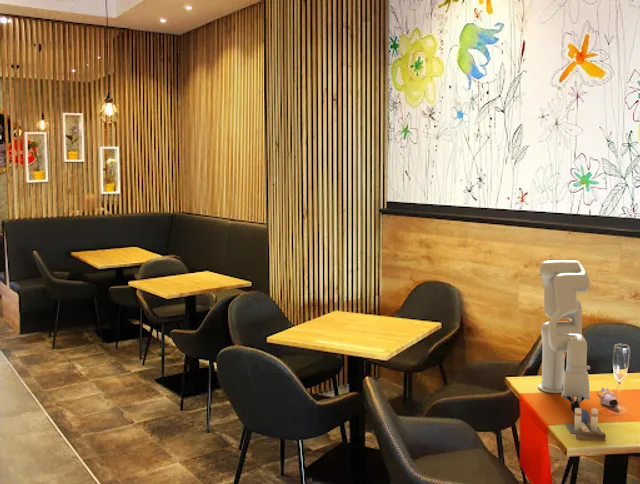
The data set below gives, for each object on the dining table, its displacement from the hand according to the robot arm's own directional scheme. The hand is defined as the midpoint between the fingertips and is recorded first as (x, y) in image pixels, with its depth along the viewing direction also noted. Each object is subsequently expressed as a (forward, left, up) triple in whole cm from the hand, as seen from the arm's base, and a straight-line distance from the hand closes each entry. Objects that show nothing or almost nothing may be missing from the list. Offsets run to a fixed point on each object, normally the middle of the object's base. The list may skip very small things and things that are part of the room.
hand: (574, 412), depth 266 cm
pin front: (+13, -1, 0) cm, 13 cm away
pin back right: (+17, -3, -2) cm, 17 cm away
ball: (+9, +1, +2) cm, 9 cm away
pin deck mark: (+14, 0, -2) cm, 15 cm away
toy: (-16, +18, -2) cm, 24 cm away
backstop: (+24, 0, -2) cm, 24 cm away
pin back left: (+17, +3, -2) cm, 17 cm away
